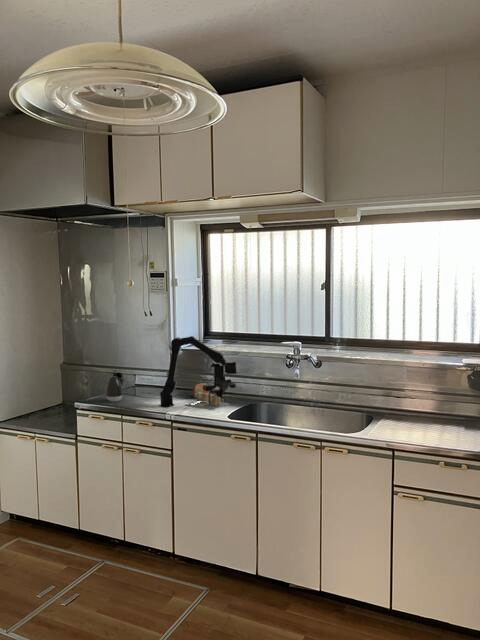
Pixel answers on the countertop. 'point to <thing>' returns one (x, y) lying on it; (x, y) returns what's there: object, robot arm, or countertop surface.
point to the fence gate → (215, 399)
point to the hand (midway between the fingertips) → (219, 400)
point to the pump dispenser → (114, 389)
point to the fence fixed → (203, 397)
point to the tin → (199, 389)
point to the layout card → (208, 405)
